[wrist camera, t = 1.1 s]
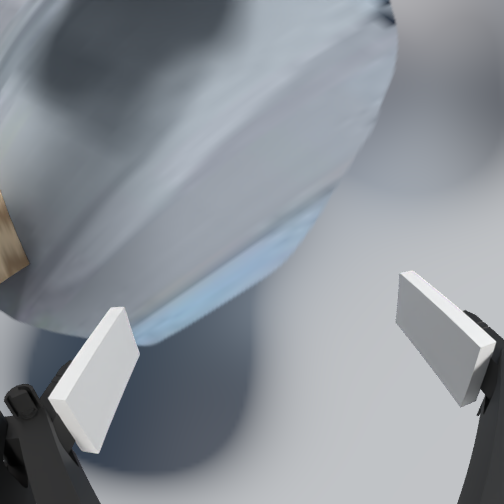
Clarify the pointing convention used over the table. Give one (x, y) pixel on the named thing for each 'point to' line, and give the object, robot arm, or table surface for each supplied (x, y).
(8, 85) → the table surface
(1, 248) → the hitch block
